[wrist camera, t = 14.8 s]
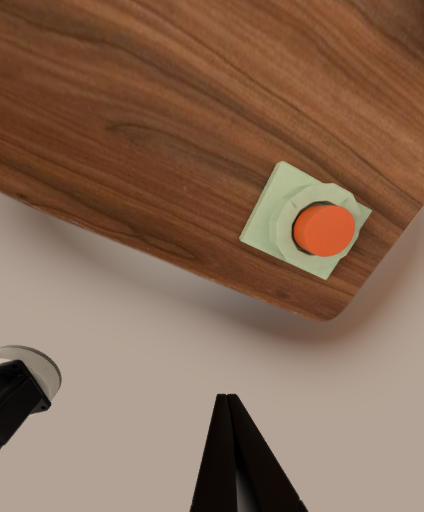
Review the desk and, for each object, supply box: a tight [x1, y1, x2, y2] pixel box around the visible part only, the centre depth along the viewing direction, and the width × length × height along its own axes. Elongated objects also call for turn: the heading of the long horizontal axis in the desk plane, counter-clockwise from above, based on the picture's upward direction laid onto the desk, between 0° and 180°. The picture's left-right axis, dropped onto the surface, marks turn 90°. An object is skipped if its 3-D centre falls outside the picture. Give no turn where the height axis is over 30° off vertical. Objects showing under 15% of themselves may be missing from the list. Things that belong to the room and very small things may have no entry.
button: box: [294, 205, 355, 257], centre depth 14 cm, size 4×4×2 cm
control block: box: [239, 161, 372, 280], centre depth 16 cm, size 9×7×3 cm
